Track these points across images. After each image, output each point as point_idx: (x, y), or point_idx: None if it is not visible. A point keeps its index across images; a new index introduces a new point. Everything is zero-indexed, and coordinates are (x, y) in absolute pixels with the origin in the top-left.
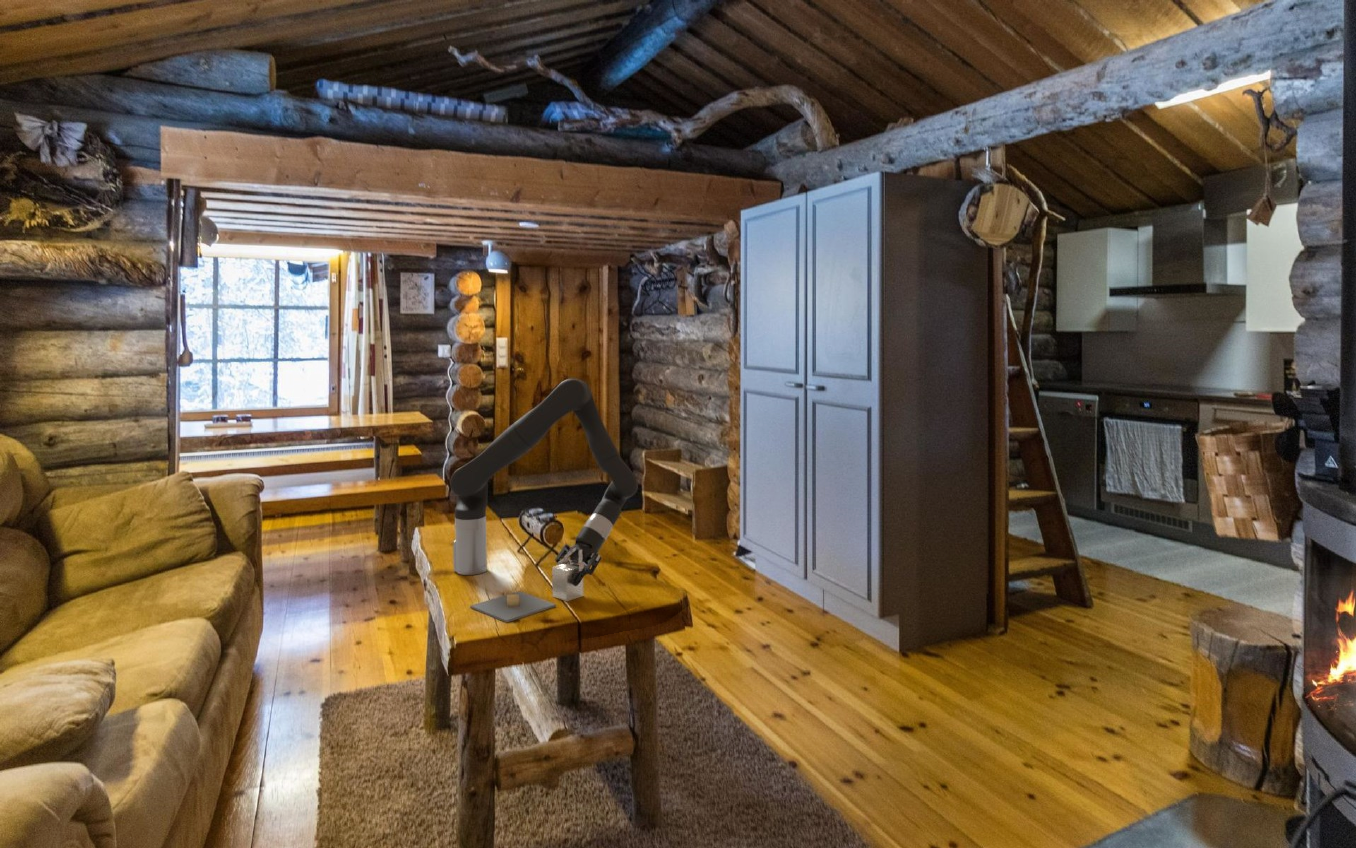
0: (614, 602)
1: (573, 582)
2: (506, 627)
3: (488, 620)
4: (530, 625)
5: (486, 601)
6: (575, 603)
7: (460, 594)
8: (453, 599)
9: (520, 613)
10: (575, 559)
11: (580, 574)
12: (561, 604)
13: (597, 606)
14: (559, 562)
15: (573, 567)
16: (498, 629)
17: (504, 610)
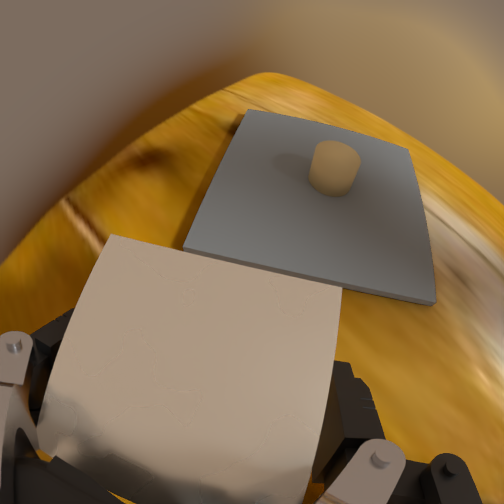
0: None
1: None
2: (231, 106)
3: (303, 117)
4: (181, 127)
5: (413, 179)
6: None
7: (498, 221)
8: (477, 190)
9: (248, 141)
10: (98, 501)
11: (35, 333)
12: None
13: None
14: (379, 451)
15: (94, 380)
16: (240, 98)
17: (310, 143)
